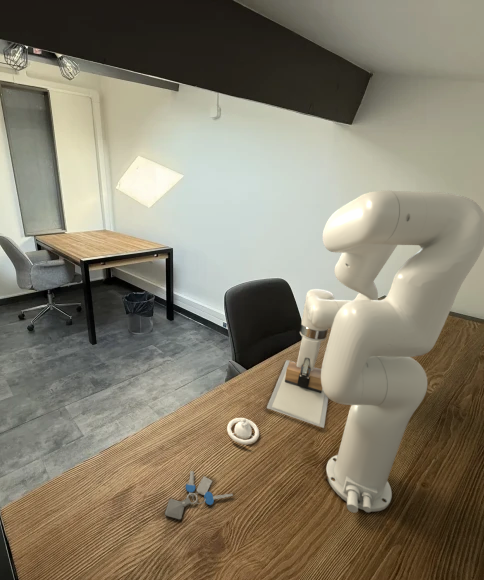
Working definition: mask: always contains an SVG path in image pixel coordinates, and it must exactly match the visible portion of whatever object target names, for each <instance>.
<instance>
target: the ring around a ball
mask: <svg viewBox="0 0 484 580" xmlns="http://www.w3.org/2000/svg"><path fill="white" fill-rule="evenodd" d="M234 425H235V426H234ZM233 426H234V432H233V431H232V427H233ZM252 429H253V430H254V434H252V433H253V430H252ZM226 432H227V434H228V436H229V438H230V439H231V440H232V441H234V442H235V443H238V444H239V445H244V446H245V445H246V446H247V445H248V446H249V445H252V444H254V443H256V442H257V441H258V439H259V437H260V430H259V427H258V426H257V425H256V423H255V422H254V421H252V420H250V419H249V418H245V417H235V418H233V419H231V420H230V421H229V422H228V424H227V427H226Z"/></svg>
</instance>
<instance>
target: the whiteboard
mask: <svg viewBox="0 0 484 580" xmlns="http://www.w3.org/2000/svg"><path fill="white" fill-rule="evenodd" d="M290 361H291V362H293V361H292V360H288V359H286V360H285V362H284V365H283V367H282V370H281V372H280V374H279V377H278V380H277V381H276V384H275V386H274V389H273V392H272V394H271V396H270V398H269V401H268V403H267V406H266V409H268V410H271V411H274V412H277V413H279V414H283V415H285V416H289V417H291V418H294V419H297V420H300V421H303V422H305V423H308V424H310V425H313V426H317V427H320V428H323V429H324V428H325V424H326V418H327V410H328V404H329V403H328V402H329V398H328V397H327V396H326V394H325V393H324V391H323V388H322V393H318V392H315V391H312V390H309V389H305V388H302V387H299V386H296V385H292V384H289V383H286V382H285V377H286V371H287V367H288V365H289V362H290ZM294 362H295V361H294ZM295 363H297V361H296V362H295ZM315 368H316V369H320V370H321V368H317V367H315Z"/></svg>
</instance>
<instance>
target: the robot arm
mask: <svg viewBox="0 0 484 580" xmlns="http://www.w3.org/2000/svg"><path fill="white" fill-rule="evenodd" d="M322 242H323V246H324V248H325V249H326V250H327V251H329V252H331V253H335V254H337V253H338V254H339V253H340V254H341V255H340V256H339V259H338V261H337V262H336V264H335V265H334V269H333V271H334V276H335V278H336V279H337V281H338V282H340V284H342V285H343V286H345V287H346V288H348V289H350V290H353V291H355V292H357V295H356V297H355V298H354V299H352V300H350V299H335V296H334V294H333V292H331V291H329V290H326V289H322V288H311V289H309V290H308V291H307V292H306V295H305V300H304V304H303V311H302V317H301V323H300V329H299V334H300V336H301V341H300V346H299V352H298V356H297V360H296V363H297V365H296V366H297V367H301V371H300V374H299V378H298V384H297V386H299V387H303V388H306V389H308V386H309V381H310V377H309V376H310V371H312V370H313V369H314V368H315V365H316V363H317V360H318V356H319V354H320V350H321V349H320V348H321V344H322V342H323V341H325V340H328V341H327V343H326V348H325V352H324V355H323V360H322V364H321V368H320V369H321V384H322V388H323V391H324V393H325V394H326V396H327V397H328V400H330V401H331V402H334V403H336V404H339V405H344V406H345V405H346V406H350V407H349V411H348V415H347V418H346V421H345V424H344V425H345V426H344V429H343V432H342V433H343V434H342V436H341V440H340V441H341V442H340V445H339V449H338V452H337V454H336V455H333V456H332V457H330V458H329V460H328V461H327V463H326V470H325V471H326V476H327V481H328V483H329V485H330V487H331V489H332V490H333V491H334V492H335V493H336V494H337V495H338V496H339V497H340V498H341V499H342V500H343V501H345V502H346V509H347V511H349V512H350V513H354V514H357V513H358V512H359V510H363V511H364V512H365V513H371V512H381V511H383V510H385V509H387V508H388V507H389V505H390V503H391V501H392V498H393V495H392V494H393V491H392V487H391V485H390V483H389V481H388V479H389V477H390V475H391V471H392V468H393V465H394V462H395V459H396V457H397V453H398V451H399V448H400V446H401V443H402V439H403V438H404V435H405V431H406V429H407V426H408V424H409V422H410V420H411V418H412V417H413V415H414V413H415V412H416V410H417V409H418V408H419V406H421V403H422V402H423V400H424V398H425V396H426V394H427V391H428V384H429V383H428V375H427V373H426V371H425V369H424V367H423V366H422V365H421V364H420V363H419V362H418V361H417V360H415V358H413V357H419V356H420V357H421V356H424V355H426V354H428V353H430V352H431V350H432V349H433V348H434V346H435V345H436V343H437V341H438V339H439V337H440V335H441V333H442V330H443V328H444V326H445V323H446V321H447V319H448V316H449V314H450V312H451V309H452V307H453V305H454V303H455V300H456V298H457V295H458V293H459V291H460V290H461V286H462V284H463V283H464V282H465V280H466V278H467V277H468V275H469V273H471V270H472V269H473V267H474V266H475V264H476V262H477V261H478V259H479V258H480V256H481V254H482V252H483V249H484V210H483V209H482V207H481V205H479V203H478V202H476V201H474V200H473V199H471V198H470V197H467V196H463V195H460V194H456V193H450V192H444V191H443V192H441V191H416V190H415V191H411V190H373V191H368V192H365V193H363V194H361V195H359V196H358V197H356V198H354V199H353V200H351V201H349V202H348V203H345V204H344V205H342V206H341V207H339V208H338V209H337V210H335V211H334V212H333V213H332V214H331V215H330V217H329V218H328V220H327V221H326V223H325V225H324V228H323V232H322ZM398 246H419V247H420V249H419V250H418V251H417V252H415V254H413V255H411V257H409V258H408V259H407V260H405V262H404V263H403V264H402V265H401V266H400V268H399V269H397V271H396V273H395V275H394V276H393V280H392V283H391V286H390V288H389V291H388V293H387V294H386V296H385V297H384V298H383V299H379V292H378V289H377V286H376V284H375V282H374V281H375V280H376V278H377V277H378V275H379V274H380V272H381V271H382V269H383V268H384V266H385V265H386V264H387V262H388V260H390V257H391V256H392V254H393V253H394V251H395V249H397V247H398ZM329 330H330V333H329V337H328V332H329ZM327 338H328V339H327ZM303 365H304V366H303ZM308 366H309V367H310V368H309V367H308ZM307 370H309V371H308V373H307ZM325 394H324V395H325Z"/></svg>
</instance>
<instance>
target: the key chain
mask: <svg viewBox="0 0 484 580" xmlns="http://www.w3.org/2000/svg"><path fill="white" fill-rule="evenodd" d="M194 480H195V472H194V470H190V471H189V480H188V482H187V483H185V490H186V491H187V493H188V494H187V495H186V498H185V499H183V500H181V501H180V500H177V499H173V498H169V499H168V503H167V505H166V509H165V511H164V516H166V517H168V518H169V517H170V518H173V519H176V520H181V519H182V518H183V514H184V509H185V508H186V507H187V506H190V505H195V504H198V505H199V504H203V503H206V505H208V506H213V504H214V502H215V500H219V499H226V498H230V497H234V495H233V493H225V494H218V495H214V494H213V493H212V492H211V491H209V489H210V487H211V485H212V483H213V480H212V479H210V478H208V477H207V476H204V475H203V477H202V478H201V480H200V482H199V484H198V485H197V488H196V485H195V481H194ZM194 492H195V493H194ZM197 494H200V495H202V496H204V497H203V498H204V499H203V501H202V502H198V501H199V500H198V499H199V497H198V495H197ZM189 497H192V501H193V502H192V501H191V500H190V498H189ZM194 497H195V499H194Z"/></svg>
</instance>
